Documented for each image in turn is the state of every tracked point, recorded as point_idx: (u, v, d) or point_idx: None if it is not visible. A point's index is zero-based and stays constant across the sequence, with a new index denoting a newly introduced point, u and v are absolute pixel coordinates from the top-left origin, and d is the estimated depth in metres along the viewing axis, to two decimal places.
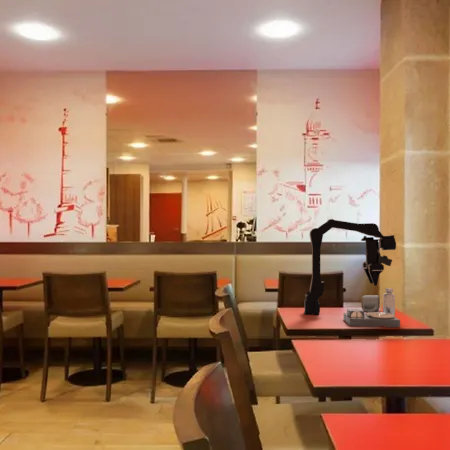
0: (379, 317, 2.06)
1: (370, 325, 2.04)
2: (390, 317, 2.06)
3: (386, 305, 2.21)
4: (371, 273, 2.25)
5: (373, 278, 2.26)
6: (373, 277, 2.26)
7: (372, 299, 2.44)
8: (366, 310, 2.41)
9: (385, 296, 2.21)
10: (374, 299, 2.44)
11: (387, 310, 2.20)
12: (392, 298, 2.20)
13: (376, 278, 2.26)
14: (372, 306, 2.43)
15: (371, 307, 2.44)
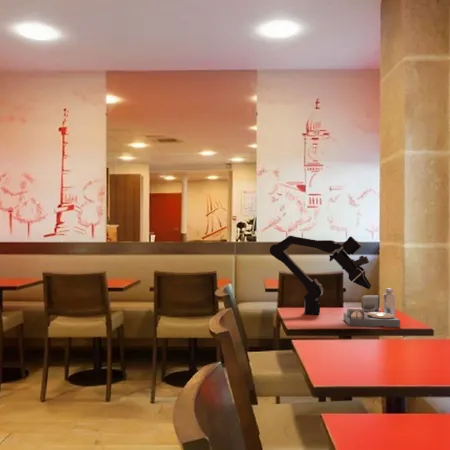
0: (379, 317, 2.06)
1: (370, 325, 2.04)
2: (390, 317, 2.06)
3: (386, 305, 2.21)
4: (356, 282, 2.21)
5: (362, 284, 2.21)
6: (361, 283, 2.21)
7: (372, 299, 2.44)
8: (366, 310, 2.41)
9: (385, 296, 2.21)
10: (374, 299, 2.43)
11: (387, 310, 2.20)
12: (392, 298, 2.20)
13: (364, 282, 2.21)
14: (372, 306, 2.43)
15: (371, 307, 2.43)
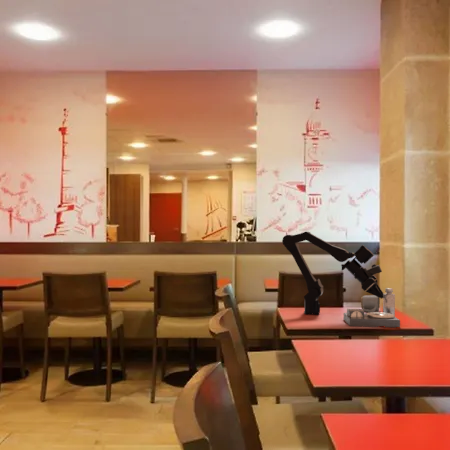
0: (379, 317, 2.06)
1: (370, 325, 2.04)
2: (390, 317, 2.06)
3: (386, 305, 2.21)
4: (369, 291, 2.19)
5: (375, 294, 2.19)
6: (374, 293, 2.19)
7: (372, 299, 2.43)
8: (366, 310, 2.41)
9: (385, 296, 2.21)
10: (374, 299, 2.43)
11: (387, 310, 2.21)
12: (392, 298, 2.20)
13: (377, 292, 2.19)
14: (372, 306, 2.43)
15: (371, 307, 2.43)
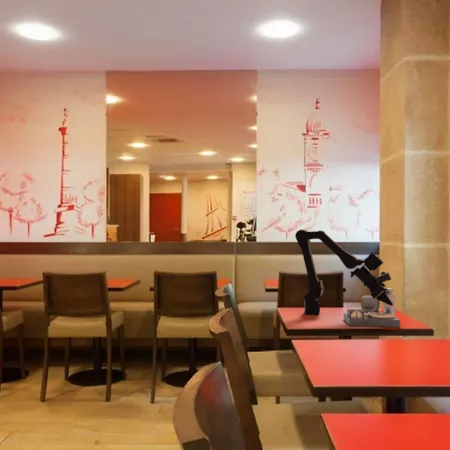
0: (379, 317, 2.06)
1: (370, 325, 2.04)
2: (390, 317, 2.06)
3: (386, 305, 2.21)
4: (379, 298, 2.20)
5: (384, 301, 2.20)
6: (384, 300, 2.20)
7: (372, 299, 2.43)
8: (366, 310, 2.41)
9: None
10: (374, 299, 2.43)
11: (387, 310, 2.20)
12: (392, 298, 2.20)
13: (387, 299, 2.19)
14: (372, 306, 2.42)
15: (371, 307, 2.43)
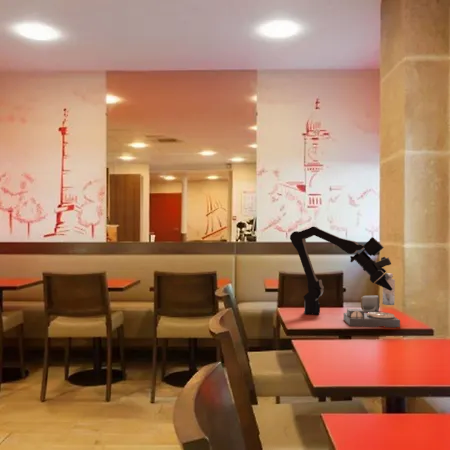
0: (379, 317, 2.06)
1: (370, 325, 2.04)
2: (390, 317, 2.06)
3: (386, 290, 2.20)
4: (378, 283, 2.19)
5: (384, 286, 2.19)
6: (383, 285, 2.19)
7: (372, 299, 2.43)
8: (365, 310, 2.40)
9: None
10: (374, 299, 2.42)
11: (387, 295, 2.19)
12: (391, 283, 2.19)
13: (386, 284, 2.18)
14: (372, 306, 2.42)
15: (371, 307, 2.42)
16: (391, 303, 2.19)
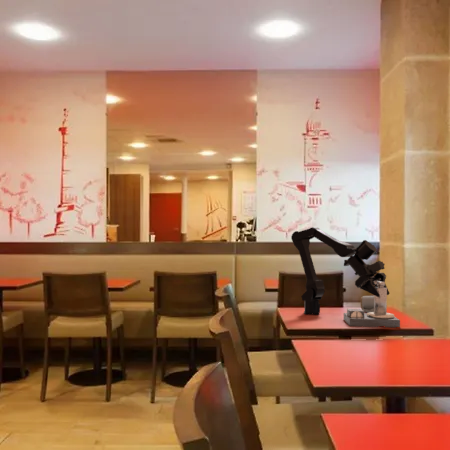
0: (379, 317, 2.06)
1: (370, 325, 2.04)
2: (390, 317, 2.06)
3: (376, 299, 2.10)
4: (364, 288, 2.09)
5: (370, 291, 2.08)
6: (369, 290, 2.08)
7: (371, 299, 2.42)
8: (365, 311, 2.40)
9: None
10: (373, 299, 2.42)
11: (376, 304, 2.09)
12: (381, 292, 2.08)
13: (372, 289, 2.07)
14: (371, 307, 2.41)
15: (370, 308, 2.42)
16: (381, 313, 2.08)
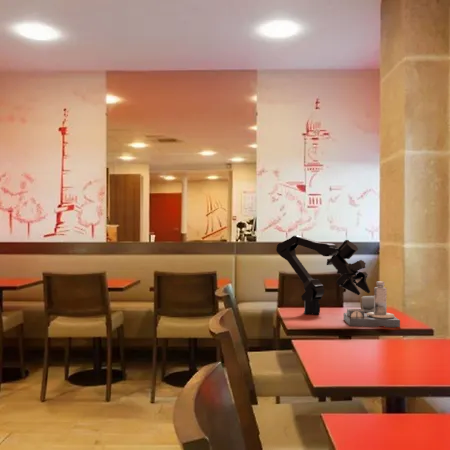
0: (379, 317, 2.06)
1: (370, 325, 2.04)
2: (390, 317, 2.06)
3: (375, 299, 2.10)
4: (345, 287, 2.15)
5: (351, 290, 2.14)
6: (350, 289, 2.14)
7: (371, 300, 2.41)
8: (365, 311, 2.39)
9: (375, 289, 2.10)
10: (373, 299, 2.41)
11: (376, 304, 2.09)
12: (381, 292, 2.08)
13: (353, 288, 2.13)
14: (371, 307, 2.41)
15: (370, 308, 2.41)
16: (381, 313, 2.08)
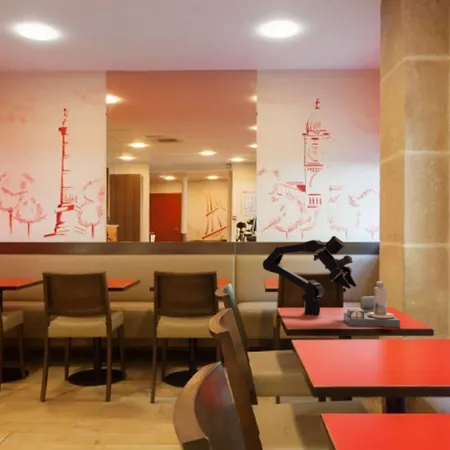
0: (379, 317, 2.06)
1: (370, 325, 2.04)
2: (390, 317, 2.06)
3: (375, 299, 2.10)
4: (336, 281, 2.21)
5: (342, 284, 2.21)
6: (341, 283, 2.21)
7: (371, 300, 2.41)
8: (365, 311, 2.39)
9: (375, 289, 2.10)
10: (373, 299, 2.41)
11: (376, 304, 2.09)
12: (381, 292, 2.08)
13: (344, 282, 2.20)
14: (371, 307, 2.40)
15: (370, 308, 2.41)
16: (381, 313, 2.08)
